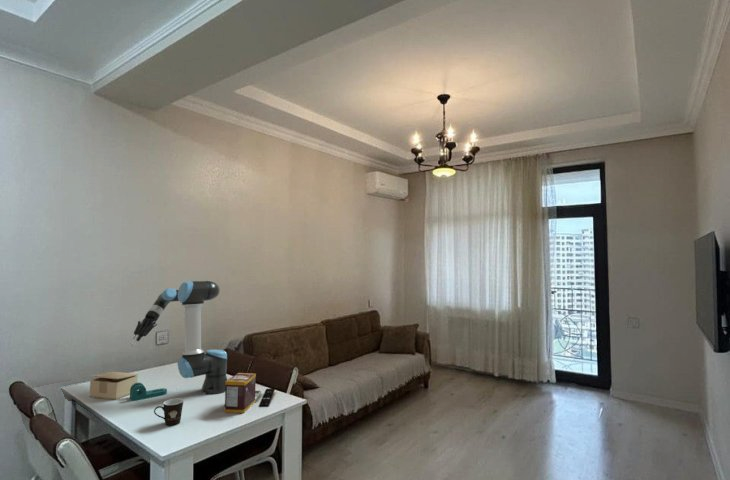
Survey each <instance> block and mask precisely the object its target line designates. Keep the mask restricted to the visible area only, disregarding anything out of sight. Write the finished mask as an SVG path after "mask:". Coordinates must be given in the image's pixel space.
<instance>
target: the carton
mask: <svg viewBox="0 0 730 480" xmlns="http://www.w3.org/2000/svg"><path fill="white" fill-rule="evenodd" d="M89 381H90V382H89V397H90V398H95V397H96V398H97V399H104V400H105V399H106V400H112V401H114V400H115V401H118V400H120V399H122V398H124V397H127V396H130V388H131V386H132V385H133V384H135V383H138V375H136V376H131V377H126V378H121V379H110V378H100V377H95V378H94V379H90V380H89Z"/></svg>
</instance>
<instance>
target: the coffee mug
mask: <svg viewBox="0 0 730 480" xmlns="http://www.w3.org/2000/svg"><path fill="white" fill-rule="evenodd" d="M183 407H184V398H183V399H182V398H170V399H167V400H165V401H163V406H162V405H161V406H160V405H159V406H156V407H155V408H154V410H153V414H154V415H155V416H157V417H158V418H159V419H160V418H161V419H163V420H164V425H165V426H166V427H174V426H178V425H179V424H181V419H182V413H183ZM157 409H162V411H163V415H164V416H161V415H159V414H158V413H156V411H157Z"/></svg>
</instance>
